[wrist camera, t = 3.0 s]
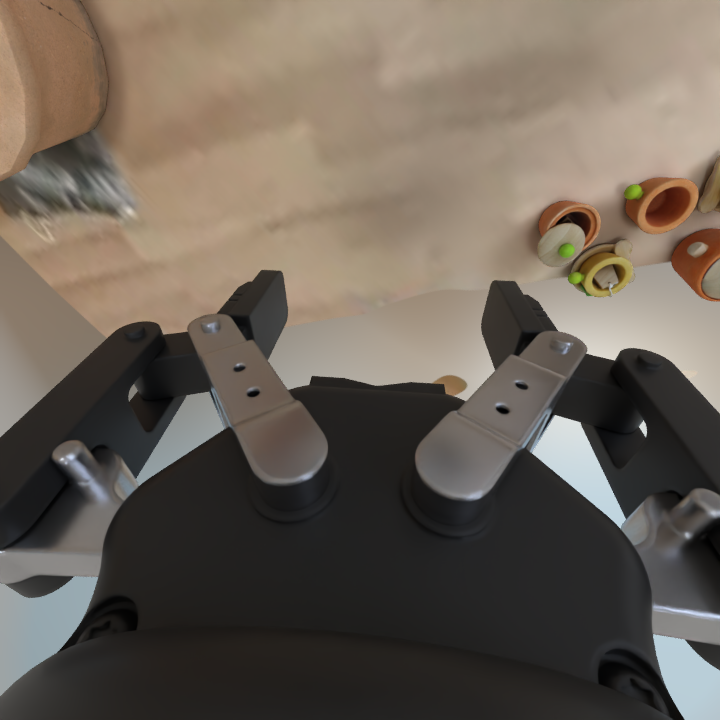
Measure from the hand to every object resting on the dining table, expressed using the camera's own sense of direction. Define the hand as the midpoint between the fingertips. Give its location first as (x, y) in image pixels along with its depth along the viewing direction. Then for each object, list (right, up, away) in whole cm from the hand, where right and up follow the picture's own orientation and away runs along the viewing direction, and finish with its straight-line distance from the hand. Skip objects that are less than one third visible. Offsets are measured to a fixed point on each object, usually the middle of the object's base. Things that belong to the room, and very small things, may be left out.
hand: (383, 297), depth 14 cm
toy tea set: (+33, +14, +29) cm, 46 cm away
